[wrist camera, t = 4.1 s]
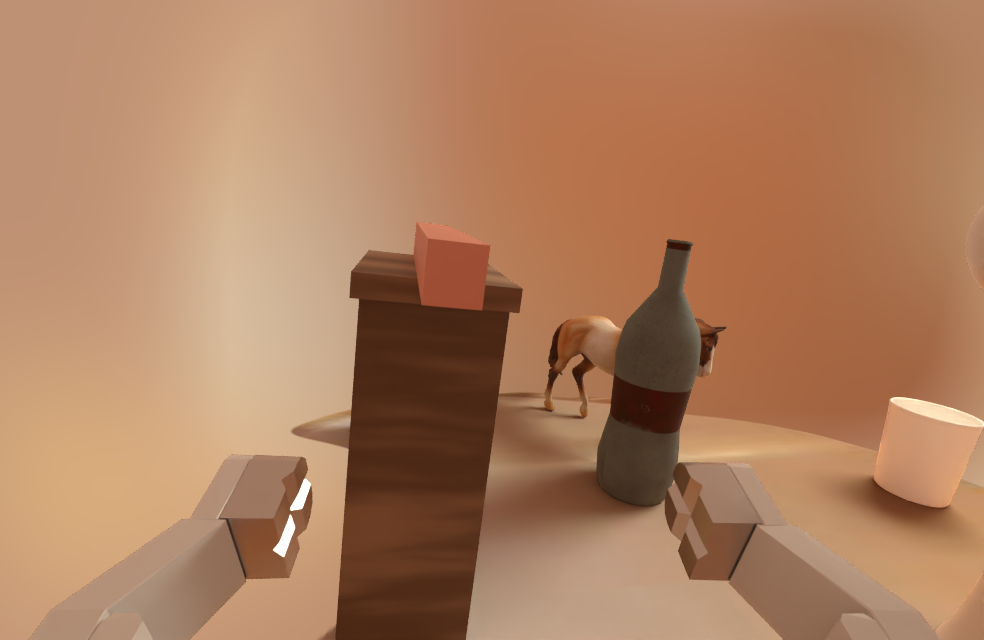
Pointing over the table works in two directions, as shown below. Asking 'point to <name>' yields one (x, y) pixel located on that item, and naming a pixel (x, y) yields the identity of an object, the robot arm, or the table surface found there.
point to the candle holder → (925, 451)
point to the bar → (450, 267)
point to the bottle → (651, 389)
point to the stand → (417, 452)
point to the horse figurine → (604, 351)
